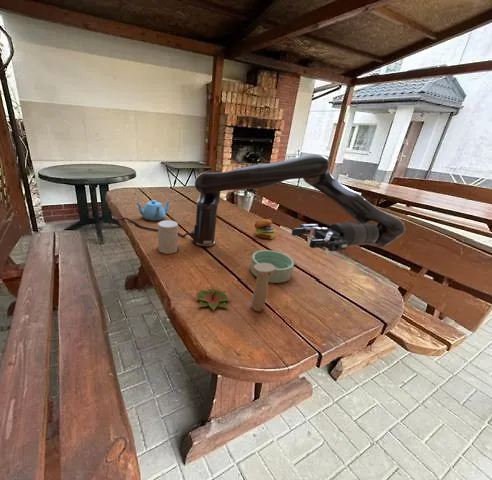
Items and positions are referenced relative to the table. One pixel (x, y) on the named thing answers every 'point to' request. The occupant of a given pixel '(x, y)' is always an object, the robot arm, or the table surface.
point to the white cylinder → (167, 236)
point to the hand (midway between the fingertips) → (301, 237)
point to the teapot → (153, 210)
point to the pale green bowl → (278, 260)
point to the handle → (261, 284)
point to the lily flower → (212, 298)
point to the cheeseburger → (264, 229)
